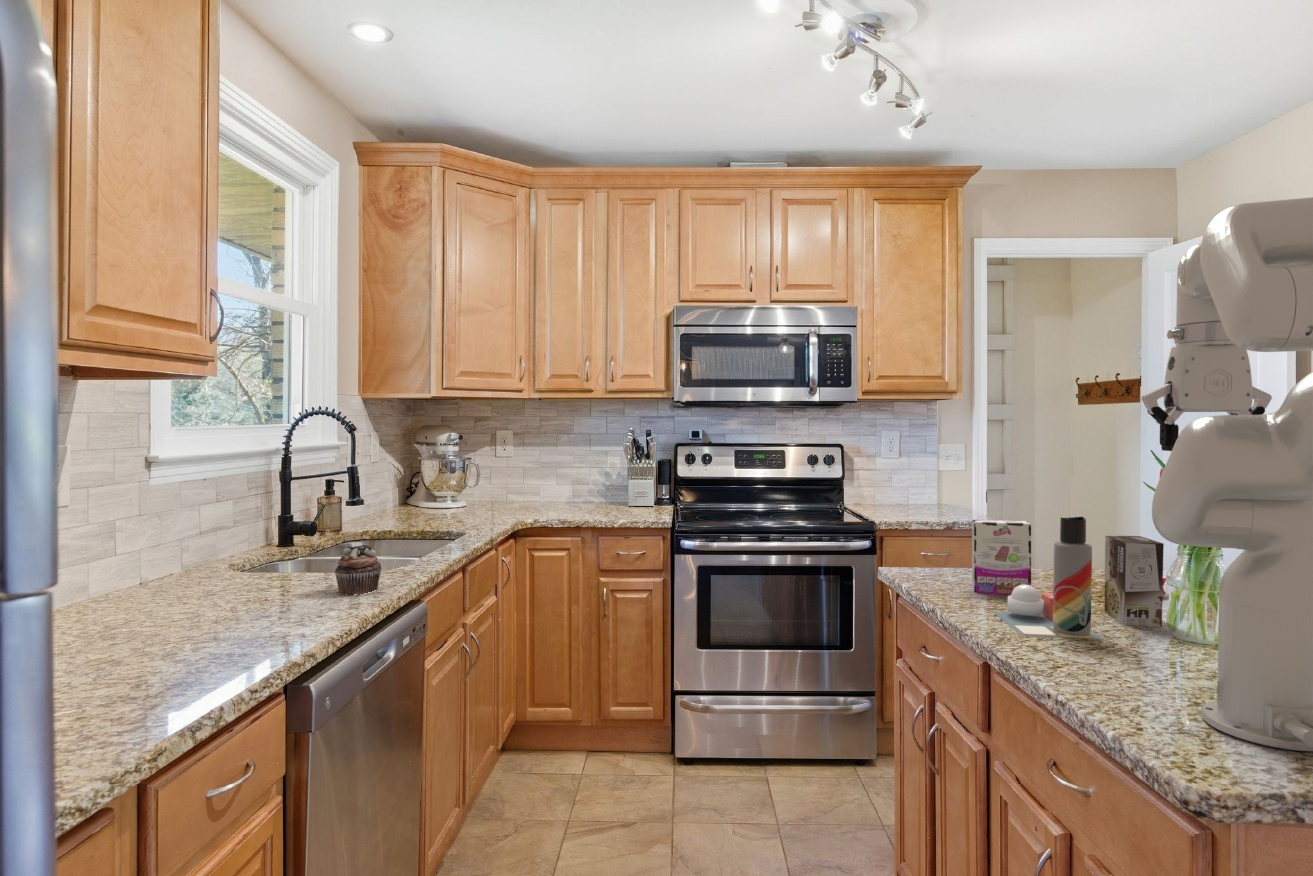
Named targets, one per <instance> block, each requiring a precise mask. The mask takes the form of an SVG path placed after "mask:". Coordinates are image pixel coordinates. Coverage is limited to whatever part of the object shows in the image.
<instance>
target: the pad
mask: <svg viewBox="0 0 1313 876" xmlns="http://www.w3.org/2000/svg"><path fill="white" fill-rule="evenodd" d="M1050 629H1052V630H1053V631H1055V630H1054V629H1053V627H1050ZM1055 632H1056V633H1057V634H1059V635H1060V636H1062V637H1078V638H1094V636H1093V635H1091V634H1089V635H1084V636H1076V635H1068V634H1063V633H1060V632H1057V631H1055Z"/></svg>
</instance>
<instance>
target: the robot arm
mask: <svg viewBox="0 0 1313 876" xmlns="http://www.w3.org/2000/svg"><path fill="white" fill-rule="evenodd" d="M1176 276H1177V277H1176V314H1175V315H1176V317H1175V319H1176V324H1175V325H1176V326H1175V327H1174V329H1169V330H1168V331H1167V333H1166V337H1167V339H1168V340H1169V339H1170V340H1171V339H1172V340H1174V344H1175V346H1174V347H1171V349H1170V352H1169V357H1168V359H1167V365H1166V370H1165V376H1164V384H1163V385H1162V386H1160V387H1158V388H1155V389H1153V390H1151V391H1149V392H1146V393H1145V394H1143V395H1142V396H1141V398H1140V399H1141V402H1142V403H1143V404H1144V407H1145V408H1146V410H1147V414H1149V415H1150V416H1151V417H1152V418H1153V419H1154V420H1155V423H1156V424H1157V425H1159V444H1160V445H1161V451H1163V452H1164V451H1165V452H1170V455H1169V457H1168V459H1167V460H1166V463H1165V466H1164V469H1163V471H1162V473H1161V475H1160V477H1159V480H1158V482H1157V484H1156V487H1155V490H1154V494H1153V498H1152V501H1151V502H1152V503H1151V516H1152V517H1151V518H1152V522H1153V525H1154V527H1155V530H1156V531H1157V532H1158V534H1159V535H1160V536H1161V537H1162V538H1163V539H1165V540H1166V541H1168V542H1170V543H1172V544H1176V545H1182V546H1187V547H1200V548H1201V547H1202V548H1217V549H1219V548H1220V549H1237V550H1242V551H1241V553H1239V555H1238V556H1237V557H1236V558H1235V559H1234V560H1233V561H1232V562H1231V563H1230V565H1228V567H1227V568H1226V569H1225V571H1224V572H1223V574H1222V577H1221V578H1220V583H1219V589H1218V592H1219V595H1218V597H1219V598H1218V624H1217V625H1218V632H1217V639H1218V640H1217V681H1216V683H1217V686H1216V687H1217V688H1216V690H1217V691H1216V700H1211V701H1208V702H1206V703H1203V704H1202V706H1201V711H1200V714H1201V718H1202V719H1203V720H1204V722H1206V723H1207V724H1208V725H1210V726H1211V727H1213V728H1214V729H1216V730H1218V731H1220V732H1223V733H1225V734H1227V735H1230V736H1233V737H1235V738H1236V739H1237V738H1238V739H1241V740H1245V741H1248V742H1250V743H1255V744H1259V745H1262V746H1267V747H1272V748H1277V749H1282V750H1290V751H1297V752H1298V751H1300V752H1313V371H1312V372H1310V373H1309V374H1307V375H1306V376H1304V377H1303V378H1301V380H1299V381H1298V382H1297V383H1296V384H1295V385H1294V386H1293V387H1291V388H1290V390H1289V392H1288V393H1287V394H1286V396H1285V398H1284V400H1283V402H1282V403H1281V405H1280V407H1279V408H1278V409H1277V410H1276V411H1275V412H1270V413H1266V408H1267V407H1268V406H1269V404H1270V403H1271V401H1272V399H1273V396H1272V395H1271V394H1269V393H1267V392H1265V391H1264V390H1261V389H1259V388H1257V387H1255V386H1253V381H1252V380H1253V378H1252V371H1251V370H1252V369H1251V364H1250V363H1251V362H1250V358H1249V354H1248V351H1251V352H1256V353H1257V352H1258V353H1277V352H1278V353H1279V352H1280V353H1281V352H1285V353H1286V352H1313V196H1311V197H1301V198H1291V199H1280V200H1271V201H1269V200H1268V201H1258V202H1257V201H1256V202H1245V203H1239V204H1236V205H1232V206H1230V207H1227V208H1225V209H1224V210H1222V211H1221V212H1219V213H1218V214H1217V215H1216V216H1215V217H1214V218H1213V219H1212V220H1211V221H1210V223H1209V224H1208V225H1207V226H1206V229H1205V231H1204V233H1203V235H1202V239H1201V243H1199V244H1196V245H1194V246H1191V247H1190V248H1189V249H1188V250H1187V251H1186V252H1185V254H1184V255H1183V256H1182V257H1181V259H1180V260H1179V263H1178V266H1177V273H1176ZM1160 398H1163V406H1164V409H1163V408H1162V407H1160V406H1159V403H1158V400H1159V399H1160ZM1253 401H1254V402H1253ZM1184 413H1227V414H1224V415H1222V414H1221V415H1209V416H1203V417H1201V418H1197V419H1195V420H1193V421H1191V422H1190V423H1187V425H1186V426H1185V427H1184V428H1183V429H1181V432H1180V433H1179V424H1175V422H1176V421H1177V420H1179V418H1180V416H1182V414H1184Z"/></svg>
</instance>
